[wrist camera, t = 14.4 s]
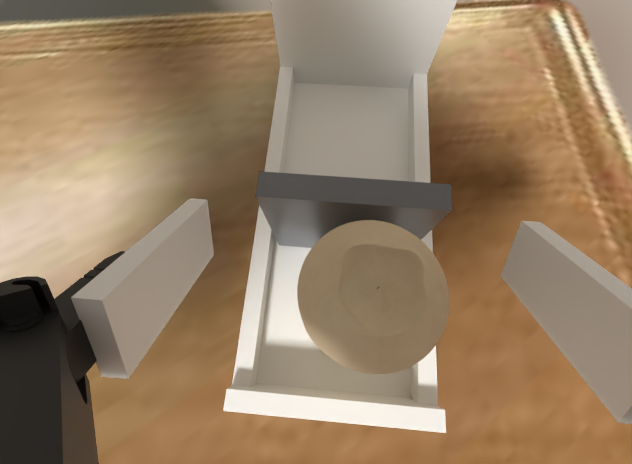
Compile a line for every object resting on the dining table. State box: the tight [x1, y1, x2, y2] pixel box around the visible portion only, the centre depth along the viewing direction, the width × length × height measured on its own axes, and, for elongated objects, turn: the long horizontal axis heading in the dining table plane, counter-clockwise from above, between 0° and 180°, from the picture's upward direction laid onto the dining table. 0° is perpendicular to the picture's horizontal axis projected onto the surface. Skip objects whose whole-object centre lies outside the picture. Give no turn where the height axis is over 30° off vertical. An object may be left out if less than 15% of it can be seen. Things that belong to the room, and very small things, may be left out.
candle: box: [297, 220, 449, 374], centre depth 15 cm, size 6×6×10 cm
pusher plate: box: [256, 171, 452, 248], centre depth 17 cm, size 8×1×8 cm, turn 85°
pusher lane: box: [223, 0, 457, 433], centre depth 18 cm, size 11×24×9 cm, turn 175°
